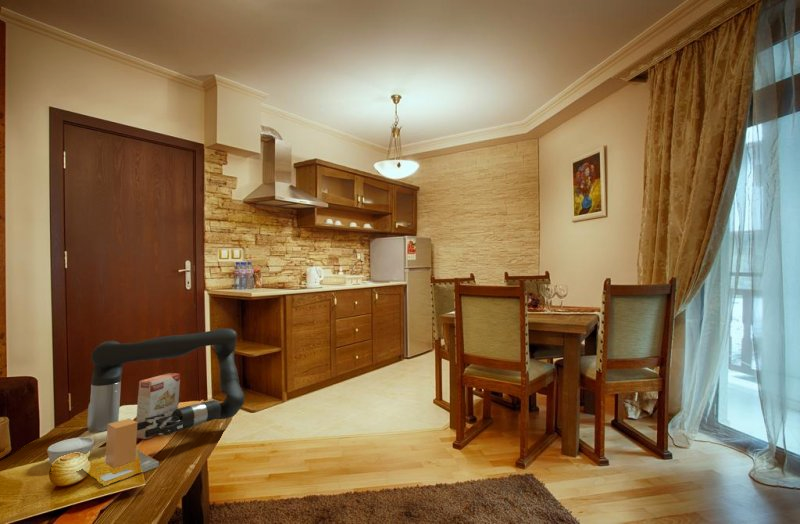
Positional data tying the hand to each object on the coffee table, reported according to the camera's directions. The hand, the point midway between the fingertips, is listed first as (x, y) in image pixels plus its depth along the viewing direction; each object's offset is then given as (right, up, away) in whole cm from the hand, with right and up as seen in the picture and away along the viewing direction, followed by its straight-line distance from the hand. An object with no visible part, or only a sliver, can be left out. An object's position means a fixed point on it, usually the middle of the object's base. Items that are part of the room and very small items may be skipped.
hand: (139, 431), depth 120 cm
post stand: (-3, -9, -5) cm, 11 cm away
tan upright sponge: (-3, -8, -4) cm, 9 cm away
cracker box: (-9, -11, +22) cm, 27 cm away
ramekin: (-22, -9, -1) cm, 23 cm away
